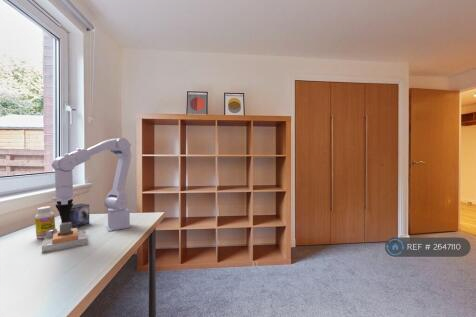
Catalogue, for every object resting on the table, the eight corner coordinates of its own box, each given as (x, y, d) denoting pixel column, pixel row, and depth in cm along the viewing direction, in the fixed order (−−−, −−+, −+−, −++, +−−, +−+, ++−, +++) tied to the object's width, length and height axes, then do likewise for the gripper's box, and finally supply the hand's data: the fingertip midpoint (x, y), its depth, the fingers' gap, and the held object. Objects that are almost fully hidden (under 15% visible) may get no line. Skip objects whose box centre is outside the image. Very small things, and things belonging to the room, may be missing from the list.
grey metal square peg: (71, 240, 99) (71, 221, 98) (71, 243, 96) (70, 223, 96) (61, 242, 97) (60, 223, 97) (60, 245, 94) (59, 225, 94)
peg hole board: (85, 234, 106) (84, 223, 106) (87, 244, 95) (86, 231, 95) (45, 241, 98) (44, 229, 98) (42, 253, 86) (41, 239, 86)
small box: (70, 230, 113) (69, 208, 113) (60, 228, 115) (60, 207, 115) (90, 223, 123) (89, 203, 123) (81, 222, 125) (80, 203, 125)
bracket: (76, 227, 108) (76, 224, 108) (77, 238, 94) (77, 235, 94) (54, 231, 104) (54, 227, 103) (52, 243, 89) (52, 239, 89)
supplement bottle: (40, 240, 100) (37, 210, 99) (34, 237, 103) (31, 208, 103) (58, 234, 105) (56, 206, 105) (52, 232, 109) (49, 205, 108)
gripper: (52, 185, 99) (53, 217, 100) (50, 189, 87) (51, 225, 88) (73, 183, 103) (74, 214, 104) (73, 187, 92) (74, 221, 92)
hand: (65, 219), depth 96 cm, fingers open, 7 cm apart
